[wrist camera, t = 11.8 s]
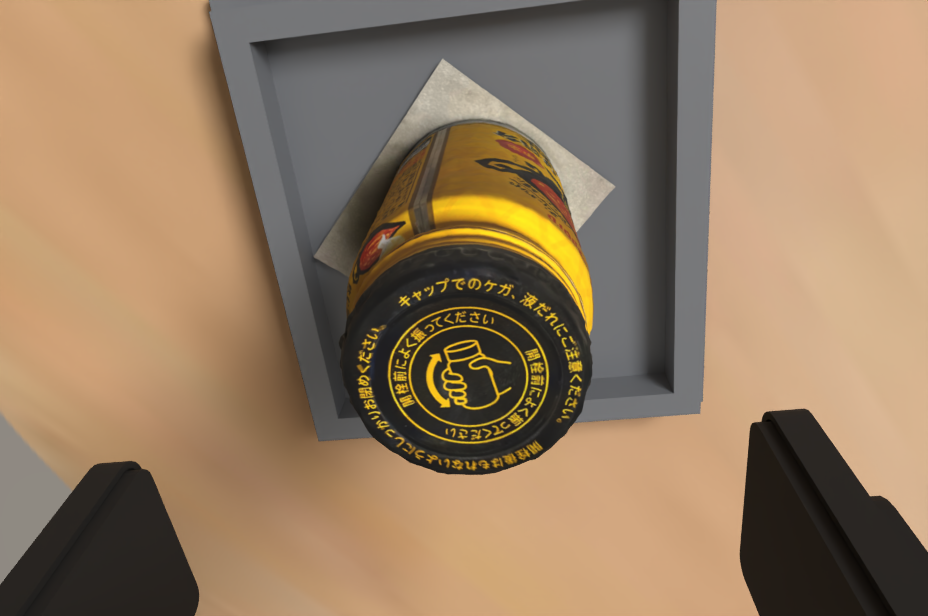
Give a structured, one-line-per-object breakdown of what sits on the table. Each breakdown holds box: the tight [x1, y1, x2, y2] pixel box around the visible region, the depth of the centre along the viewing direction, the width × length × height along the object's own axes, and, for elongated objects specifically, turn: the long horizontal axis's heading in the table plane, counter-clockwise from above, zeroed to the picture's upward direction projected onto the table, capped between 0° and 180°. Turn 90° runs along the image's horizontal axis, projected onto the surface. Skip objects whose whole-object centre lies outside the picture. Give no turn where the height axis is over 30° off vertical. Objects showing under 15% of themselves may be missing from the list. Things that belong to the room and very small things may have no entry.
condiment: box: [314, 59, 615, 475], centre depth 20 cm, size 7×8×12 cm
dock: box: [209, 0, 717, 441], centre depth 25 cm, size 17×16×2 cm
